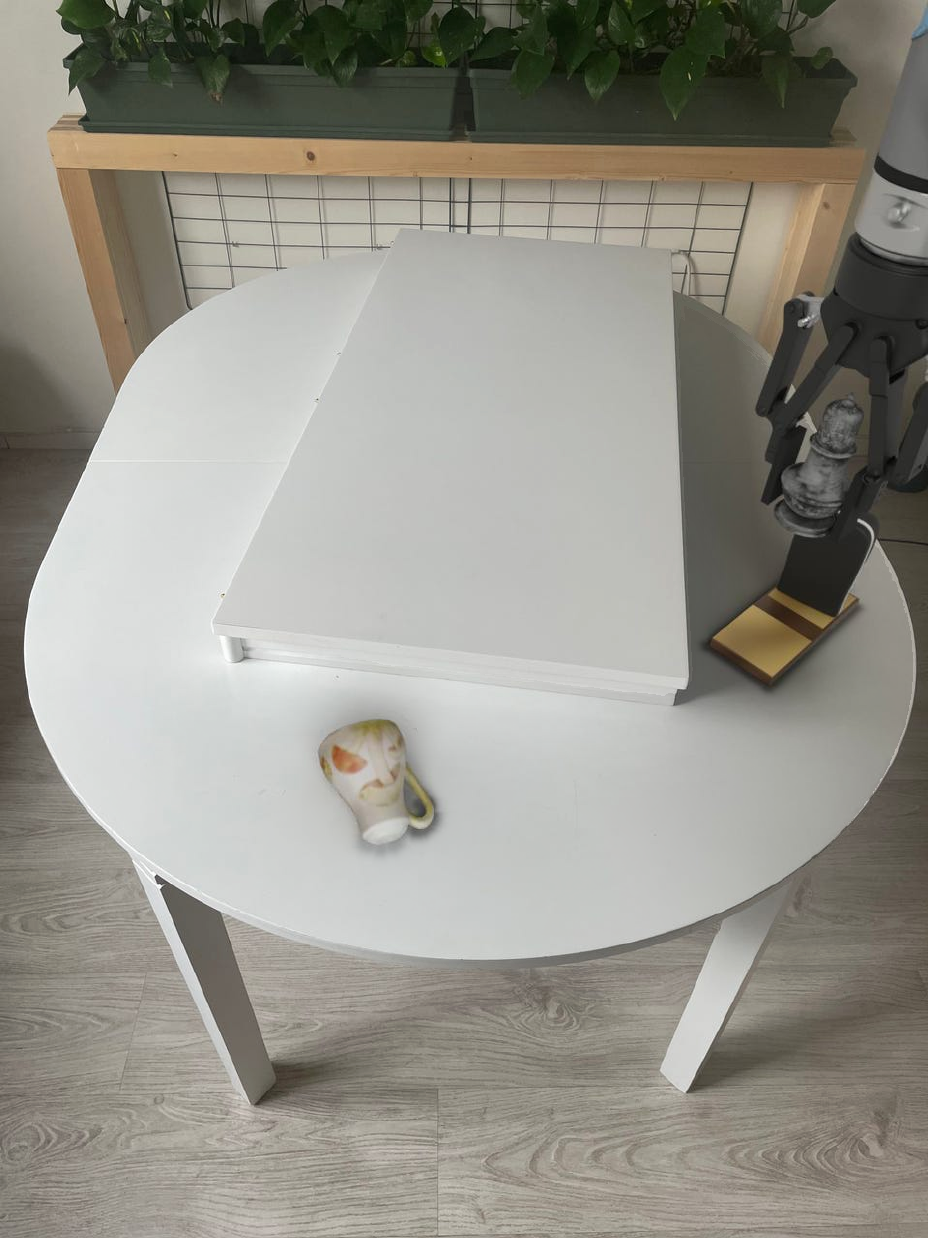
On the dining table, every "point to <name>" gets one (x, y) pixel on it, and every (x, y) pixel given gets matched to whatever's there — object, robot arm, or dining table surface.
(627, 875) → the dining table surface
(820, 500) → the grey chess piece
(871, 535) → the battery charger
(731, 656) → the strip board
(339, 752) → the mug
